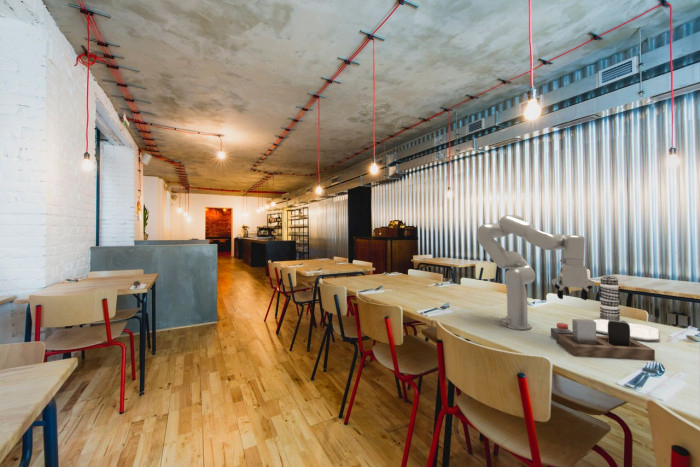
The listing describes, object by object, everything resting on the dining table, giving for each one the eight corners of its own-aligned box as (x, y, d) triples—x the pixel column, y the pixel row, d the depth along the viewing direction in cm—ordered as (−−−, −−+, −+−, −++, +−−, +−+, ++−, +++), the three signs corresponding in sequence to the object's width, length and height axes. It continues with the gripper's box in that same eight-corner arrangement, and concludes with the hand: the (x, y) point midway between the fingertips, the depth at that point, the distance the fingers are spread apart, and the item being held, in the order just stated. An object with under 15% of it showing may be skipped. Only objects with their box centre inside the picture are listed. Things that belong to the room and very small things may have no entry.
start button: (559, 329, 140) (559, 325, 140) (555, 326, 145) (554, 322, 145) (570, 329, 139) (570, 325, 139) (565, 326, 144) (565, 323, 144)
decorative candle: (600, 317, 175) (599, 274, 174) (621, 320, 168) (621, 275, 168) (597, 320, 168) (596, 276, 168) (619, 324, 162) (619, 277, 161)
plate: (595, 321, 168) (594, 317, 168) (658, 331, 150) (658, 327, 150) (588, 332, 150) (588, 328, 150) (659, 345, 133) (659, 340, 133)
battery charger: (629, 348, 126) (628, 320, 126) (630, 351, 123) (630, 323, 123) (607, 344, 130) (606, 318, 130) (608, 347, 127) (607, 320, 127)
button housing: (558, 341, 139) (557, 332, 139) (550, 336, 146) (550, 327, 146) (575, 342, 138) (574, 333, 138) (567, 336, 145) (566, 328, 145)
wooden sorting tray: (574, 356, 123) (573, 325, 123) (556, 342, 138) (556, 315, 138) (654, 360, 118) (654, 328, 118) (627, 345, 132) (626, 317, 132)
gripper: (556, 262, 136) (555, 300, 137) (599, 263, 133) (598, 302, 134) (548, 260, 143) (547, 296, 144) (589, 261, 140) (588, 297, 141)
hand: (572, 298), depth 139 cm, fingers open, 9 cm apart
